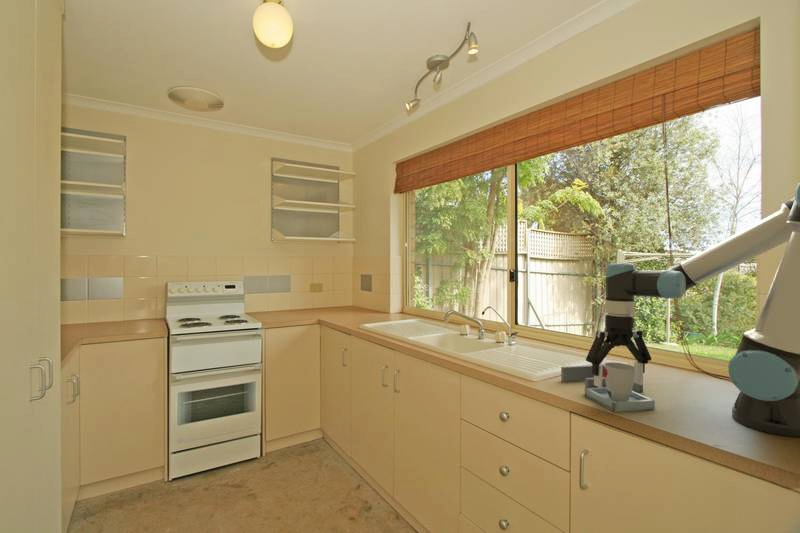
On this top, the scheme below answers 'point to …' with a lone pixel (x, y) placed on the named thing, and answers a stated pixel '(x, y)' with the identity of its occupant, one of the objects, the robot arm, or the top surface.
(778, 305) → the robot arm
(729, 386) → the top surface
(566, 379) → the holder
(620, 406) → the tray
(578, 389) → the top surface
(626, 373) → the cup
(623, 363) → the charger
